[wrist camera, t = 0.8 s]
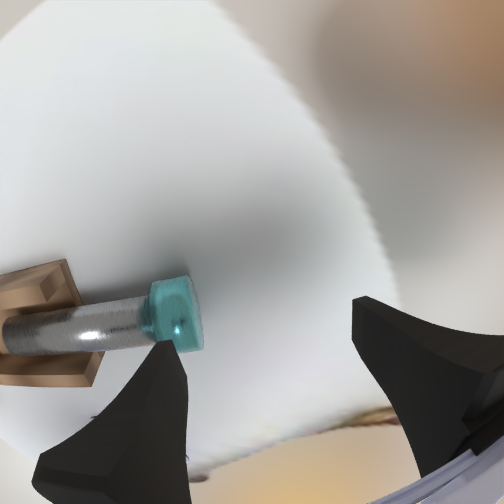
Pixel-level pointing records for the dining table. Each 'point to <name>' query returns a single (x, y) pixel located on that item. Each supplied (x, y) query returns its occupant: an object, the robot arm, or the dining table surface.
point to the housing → (34, 301)
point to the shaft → (112, 324)
